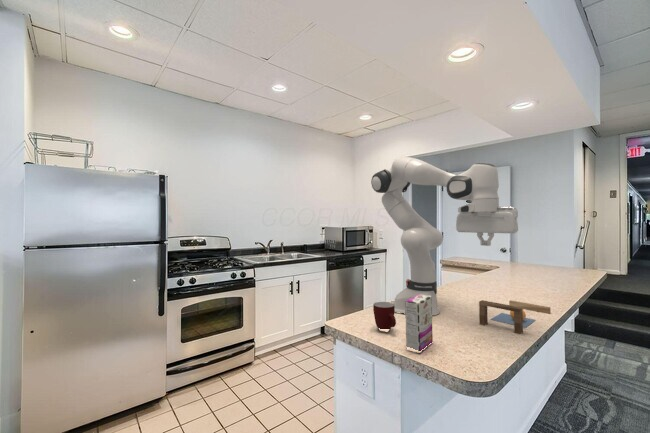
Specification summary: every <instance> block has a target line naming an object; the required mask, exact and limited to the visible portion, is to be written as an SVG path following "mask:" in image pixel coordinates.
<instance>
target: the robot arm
mask: <svg viewBox="0 0 650 433" xmlns="http://www.w3.org/2000/svg"><path fill="white" fill-rule="evenodd" d="M391 164H392V165H391V168H389V169H385V168H384V169H382V170H380V171H378V172H375V173H374V174H373V175H372V176H371V183H370V184H371V188H372V189H373V190H374V192H376V193H378V194H383V195H382V196H381V203H382V205H383V208H384V209H385V210H386V213H387V214H388V216H389V217H390V218H391V220H392V221H393V222H394V223H395V225H396V226H397V227H398V228H399V229H401V230H402V231H403V232H402V234H401V236H400V243H401V246H402V248H404V250H405V251H406V253H407V256H408V259H409V265H410V279H409V278H407V279H406V280H405V283H406V286H405V288H404V289H403V290H402V291H400V292H399V293H397V294H396V296H395V298H394V302H392V303H393V304H394V306H395V312H400V313H405V301H406V300H408V299H410V298H412V297H414V296H416V295H418V294H422V295H428V296H431V303H432V316H437V315H439V314H440V313H441V311H440V308H439V304H438V298H437V294H438V283H437V280H436V278H437V276H436V274H437V273H436V264H435V262H434V261H433V259H432V256H431V252H430V251H432V250H436V249H437V248H438V247H440V246H441V245H442V244H443V241H444V237H443V234H442V232H441V231H440V230H439V229H437V228H436V227H434V226H433V225H431V223H429V222H428V221H426V219H424V218H423V217H422V216H421V215H419V214H418V212H416V210H415V209H414V208H413V207H412V205H411V204H410V203H409V202H408V200H407V199H406V198H405V197H404V196H403V193H406V192H407V191H408V188H409V187H410V185H411V184H412V185H419V186H438V187H440V186H441V187H444V188H446V194H447V195H448V196H449V197H450V198H451V199H454V200H458V201H470V203H467V204H464V205H462V206H459V207H458V208H457V211H458V214H457V216H456V219H455V220H456V222H455V223H456V224H455V228H456V231H457V232H458V233H475V234H476V236H477V238H478V240H479V242H480V243H479V244H480V246H485V247H490V246H491V245H492V240H493V238H494V236H495V234H517V233H518V231H519V226H518V225H519V223H518V216H519V211H518V209H517V208H515V207H513V206H500V200H499V199H500V197H499V194H498V191H499V174H498V170H497V169H498V168H497V167H496V166H495V165H494V164H492V163H491V164H490V163H483V162H482V163H480V162H478V163H474V164H472V165H471V166H470V168H469V169H467V170H465V171H463V172H462V173H460V174H455V173H451V172H448V171H445V170H443V169H441V168H439V167H436V166H435V165H433V164H431V163H428V162H426V161H425V160H424V161H423V160H422V159H418V158H415V157H410V156H398V157H396V158H395V159H394V161H393V162H392V163H391ZM484 234H487V237H488V238H487V239H484V237H483V236H484ZM400 313H399V314H400Z"/></svg>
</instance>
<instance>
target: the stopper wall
mask: <svg viewBox="0 0 650 433" xmlns="http://www.w3.org/2000/svg"><path fill="white" fill-rule="evenodd" d="M508 303H509V304H508V305H511V306H516V307H521V308H523V310H528V311H533V312H538V313H543V314H549V315H550V314H551V306H546V305H539V304H533V303H528V302H522V301H517V300H511V299H510V300H509V302H508Z"/></svg>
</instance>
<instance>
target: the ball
mask: <svg viewBox="0 0 650 433" xmlns="http://www.w3.org/2000/svg"><path fill="white" fill-rule="evenodd" d="M509 314H510V315H511V317H512V319H514V311H510V312H509ZM526 316H527V315H526V312H525V309H523V320H524V319H525V318H527V317H526Z"/></svg>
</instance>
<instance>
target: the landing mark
mask: <svg viewBox="0 0 650 433" xmlns="http://www.w3.org/2000/svg"><path fill="white" fill-rule="evenodd" d="M489 320H490V321H494V322H498V323H499V322H500V323H503V324H506V325H507V324H508V325H512V326H514V319H512V317H511V315H510V313H509V314H508V313H505V312H501V313H498V314H497V315H496V316H493V317H492V318H490V319H489ZM534 322H536V319H533V318H530V317H529V318H528V317H525V319H524V320H523V329H525V328H528V327H530V326H531V325H532V324H533V323H534Z"/></svg>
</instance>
